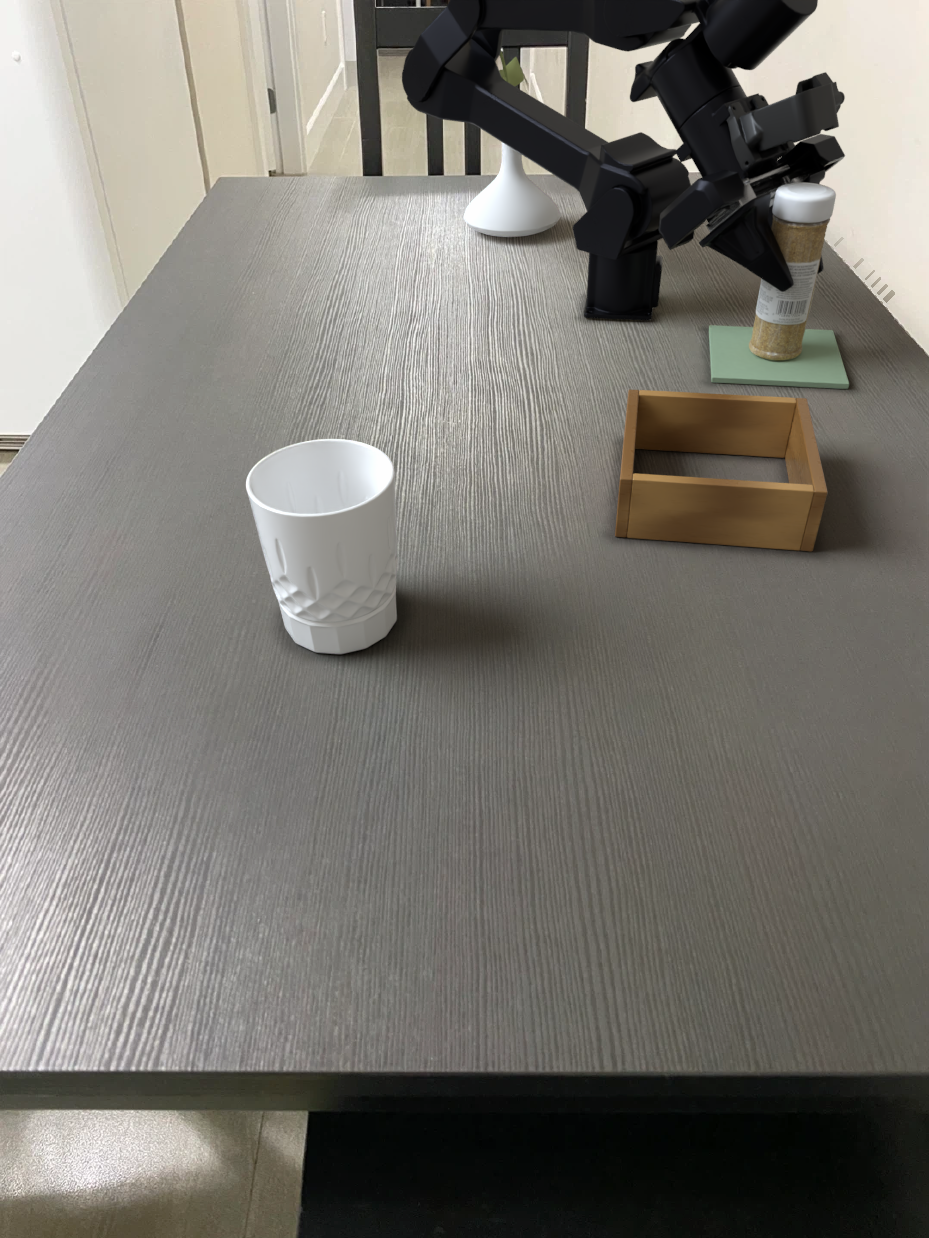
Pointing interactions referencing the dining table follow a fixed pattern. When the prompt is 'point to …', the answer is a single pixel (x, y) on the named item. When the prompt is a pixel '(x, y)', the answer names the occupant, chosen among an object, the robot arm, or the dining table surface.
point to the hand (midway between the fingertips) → (803, 281)
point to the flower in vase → (511, 191)
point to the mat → (806, 370)
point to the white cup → (329, 541)
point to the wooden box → (721, 503)
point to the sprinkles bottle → (792, 269)
